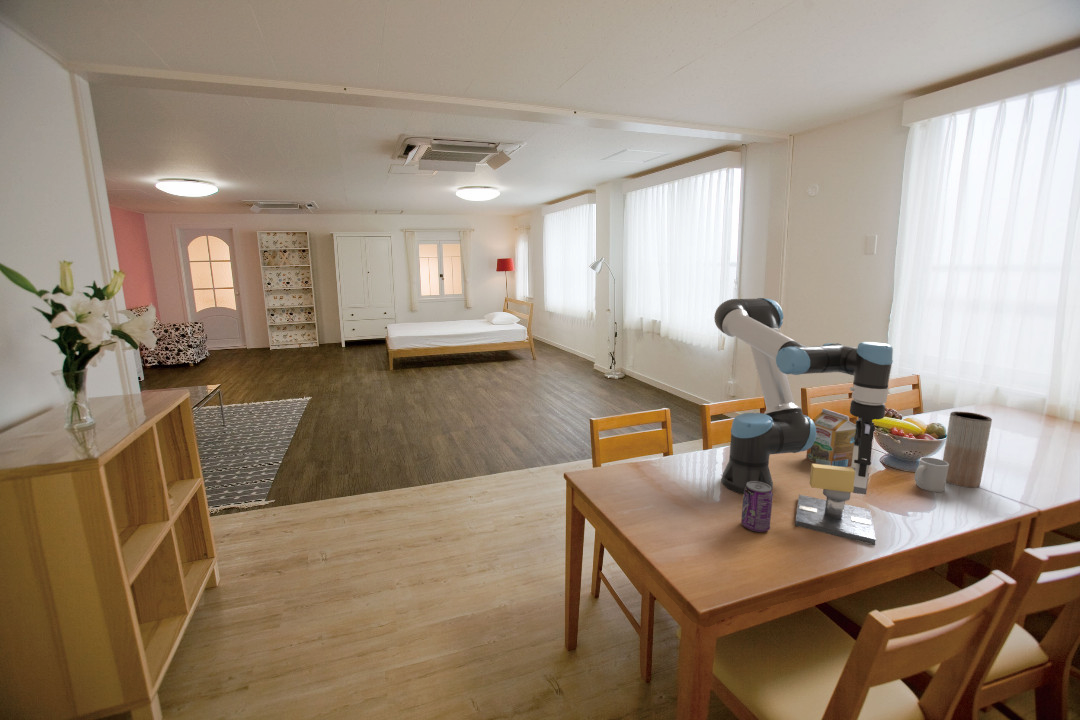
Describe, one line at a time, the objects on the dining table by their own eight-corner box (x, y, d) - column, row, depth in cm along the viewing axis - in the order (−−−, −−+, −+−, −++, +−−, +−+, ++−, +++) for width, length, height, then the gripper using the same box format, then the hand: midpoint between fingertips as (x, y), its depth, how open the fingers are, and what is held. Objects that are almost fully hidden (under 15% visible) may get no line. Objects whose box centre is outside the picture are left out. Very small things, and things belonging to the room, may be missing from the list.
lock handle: (807, 487, 136) (810, 460, 134) (859, 493, 132) (863, 466, 130) (812, 497, 130) (815, 469, 128) (867, 504, 126) (871, 475, 124)
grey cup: (950, 491, 149) (955, 464, 148) (925, 494, 147) (929, 467, 145) (927, 481, 156) (931, 456, 154) (903, 484, 154) (906, 458, 152)
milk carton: (806, 458, 176) (811, 409, 172) (827, 455, 179) (833, 407, 175) (830, 469, 166) (837, 417, 162) (853, 466, 169) (860, 415, 165)
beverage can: (745, 517, 133) (748, 478, 131) (772, 526, 129) (776, 485, 127) (737, 528, 128) (740, 486, 126) (765, 537, 123) (769, 494, 121)
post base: (795, 525, 129) (797, 501, 128) (798, 499, 144) (800, 477, 143) (874, 544, 120) (878, 519, 118) (869, 514, 135) (872, 491, 134)
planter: (950, 486, 153) (962, 419, 149) (933, 473, 162) (943, 410, 158) (987, 489, 150) (1000, 421, 146) (967, 476, 160) (979, 412, 156)
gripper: (849, 389, 136) (840, 459, 140) (853, 411, 115) (843, 492, 119) (881, 393, 132) (871, 464, 136) (891, 415, 111) (879, 499, 115)
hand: (858, 477), depth 127 cm, fingers open, 13 cm apart
